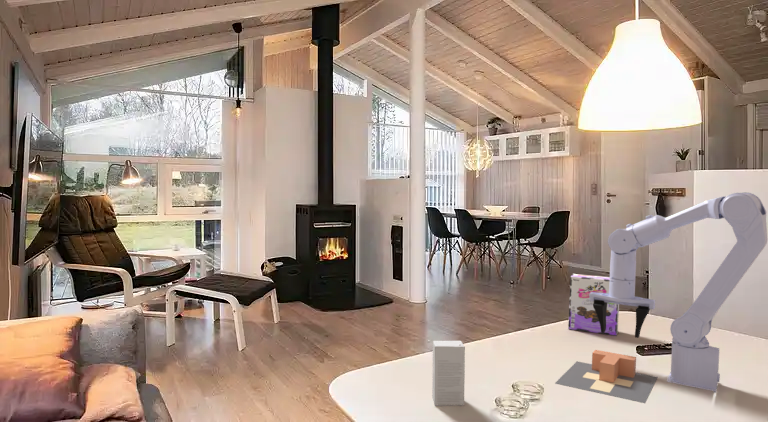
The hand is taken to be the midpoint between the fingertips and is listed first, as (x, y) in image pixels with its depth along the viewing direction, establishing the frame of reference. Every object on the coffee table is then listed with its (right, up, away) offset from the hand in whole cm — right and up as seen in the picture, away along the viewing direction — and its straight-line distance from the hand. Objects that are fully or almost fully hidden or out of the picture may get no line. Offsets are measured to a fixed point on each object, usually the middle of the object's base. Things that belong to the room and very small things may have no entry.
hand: (620, 333), depth 132 cm
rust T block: (-5, -8, -7) cm, 12 cm away
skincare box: (-44, -9, -22) cm, 51 cm away
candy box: (+6, -7, +33) cm, 34 cm away
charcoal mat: (-7, -9, -10) cm, 15 cm away
